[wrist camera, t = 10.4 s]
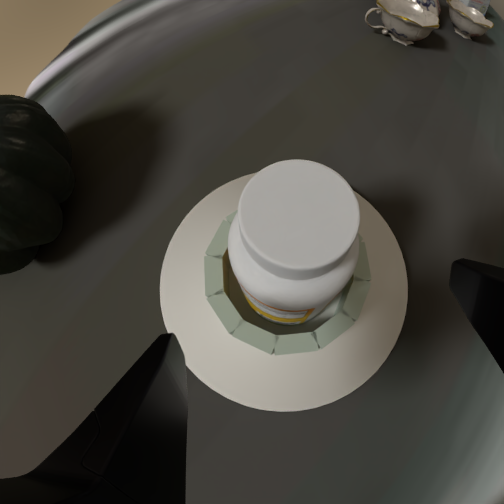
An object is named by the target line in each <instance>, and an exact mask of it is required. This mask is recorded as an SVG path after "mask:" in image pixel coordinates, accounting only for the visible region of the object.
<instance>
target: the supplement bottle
mask: <svg viewBox="0 0 504 504" xmlns="http://www.w3.org/2000/svg"><path fill="white" fill-rule="evenodd" d="M359 226H360V209H359V204H358V201H357V198H356V196H355V194H354V192H353V190H352V188H351V187H350V185H349V184H348V183H347V182H346V181H345V179H344V178H343V177H342V176H341V175H339V174H338V173H337V172H335V171H334V170H332V169H330V168H328V167H327V166H325V165H322V164H320V163H317V162H313V161H308V160H286V161H280V162H277V163H274V164H271V165H269V166H267V167H265V168H264V169H262V170H261V171H259V172H258V173H257V174H256V175H254V176H253V177H252V178H251V179H250V181H249V182H248V183H247V185H246V186H245V188H244V190H243V192H242V194H241V196H240V200H239V204H238V211H237V213H236V215H235V217H234V219H233V221H232V223H231V226H230V230H229V235H228V254H229V259H230V263H231V266H232V269H233V272H234V274H235V276H236V278H237V280H238V282H239V284H240V287H241V289H242V291H243V293H244V295H245V298H246V300H247V302H248V303H249V305H250V307H251V308H252V309H253V310H254V311H255V313H257V314H258V315H259V316H260V317H261V318H263V319H264V320H266V321H268V322H270V323H273V324H276V325H281V326H294V325H299V324H303V323H305V322H307V321H309V320H311V319H313V318H314V317H316V316H317V315H318V314H319V313H320V312H321V311H322V310H323V309H324V308H325V307H326V306H327V305H328V304H329V303H330V302H331V301H332V300H333V299H334V298H335V297H336V296H337V295H338V294H339V293H340V292H341V291H342V289H343V288H344V287H345V285H346V284H347V283H348V281H349V280H350V278H351V276H352V274H353V272H354V270H355V268H356V265H357V261H358V256H359V237H358V231H359Z"/></svg>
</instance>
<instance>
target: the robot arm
mask: <svg viewBox="0 0 504 504" xmlns="http://www.w3.org/2000/svg"><path fill="white" fill-rule="evenodd" d="M449 286H450V289H451V291H452V293H453V294H454V296H455V298H456V299H457V301H458V302H459V304H460V306H461V308H462V309H463V311H464V313H465V314H466V316H467V318H468V319H469V321H470V323H471V324H472V326H473V327H474V329H475V330H476V332H477V333H478V334H479V336H480V337H481V339H482V340H483V342H484V343H485V345H486V346H487V348H488V349H489V351H490V352H491V354H492V355H493V357H494V359H495V360H496V362H497V363H498V365H499V367H500V368H501V370H502V371H503V373H504V268H501V267H497V266H493V265H489V264H485V263H480V262H476V261H472V260H468V259H464V258H462V259H458V260H456V261H454V262H453V263H452V265H451V273H450V280H449ZM187 418H188V394H187V380H186V364H185V356H184V353H183V350H182V348H181V346H180V344H179V341H178V339H177V337H176V335H175V334H174V333H166V334H161V335H160V336H159V337H158V338H157V339H156V340H155V341H154V342H153V343H152V344H151V346H150V347H149V348H148V349H147V350H146V351H145V352H144V353H143V355H142V356H141V357H140V358H139V359H138V360H137V361H136V362H135V363H134V365H133V366H132V367H131V368H130V369H129V370H128V371H127V372H126V374H125V375H124V376H123V377H122V378H121V379H120V380H119V382H118V383H117V384H116V385H115V386H114V387H113V388H112V389H111V391H110V392H109V393H108V394H107V395H106V396H105V397H104V398H103V400H102V401H101V402H100V403H99V404H98V405H97V406H96V408H95V409H94V411H92V412H91V413H90V414H89V415H88V417H87V418H86V419H85V420H84V421H83V422H82V423H81V424H80V425H79V427H78V428H77V429H76V430H75V431H74V432H73V433H72V434H71V435H70V436H69V437H68V438H67V439H66V440H65V441H64V442H63V443H62V444H61V445H60V446H59V447H57V448H56V449H55V450H54V451H53V452H52V453H51V454H50V455H49V456H48V457H47V458H46V459H45V460H44V461H43V462H42V463H41V464H40V465H38V466H37V467H36V468H35V469H34V470H32V471H31V472H29V473H27V474H25V475H22V476H19V477H13V478H5V479H0V504H185V490H186V443H187Z"/></svg>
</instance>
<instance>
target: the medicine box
mask: <svg viewBox="0 0 504 504" xmlns="http://www.w3.org/2000/svg"><path fill="white" fill-rule="evenodd" d="M459 1H461V2H462V3H463V4H464V5H466V7H472V8H475V9H477V10H479V11H480V12H481V13H482V14H483V15H484V16H485V13H486V11H487V8H488V5H489V3H490V0H459Z"/></svg>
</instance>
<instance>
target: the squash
mask: <svg viewBox="0 0 504 504" xmlns="http://www.w3.org/2000/svg"><path fill="white" fill-rule="evenodd" d="M71 152H72V151H71V145H70V143H69V140H68V138H67V136H66V135H65V133H64V132H63V130H62V129H61V128H60V127H59V125H58V124H57V122H56V121H55V120H54V119H53V118H52V117H51V116H50V115H49V114H48V113H47V112H46V110H45V109H44V108H43V107H42V106H41V105H40V104H38V103H37V102H35V101H33V100H30V99H27V98H23V97H20V96H15V95H0V275H2V274H7V273H12V272H15V271H18V270H20V269H22V268H24V267H25V266H27V265H28V264H29V263H30V262H31V261H32V260H33V259H34V258H35V256H36V254H37V252H38V250H39V245H42V244H47V243H50V242H52V241H53V240H55V239H56V238H57V236H58V235H59V234H60V232H61V230H62V226H63V215H62V211H61V208H60V205H59V204H61V203H62V202H64V201H65V200H66V199H67V198H68V197H69V196H70V195H71V193H72V191H73V189H74V185H75V177H74V174H73V171H72V168H71V167H70V163H71Z"/></svg>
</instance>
